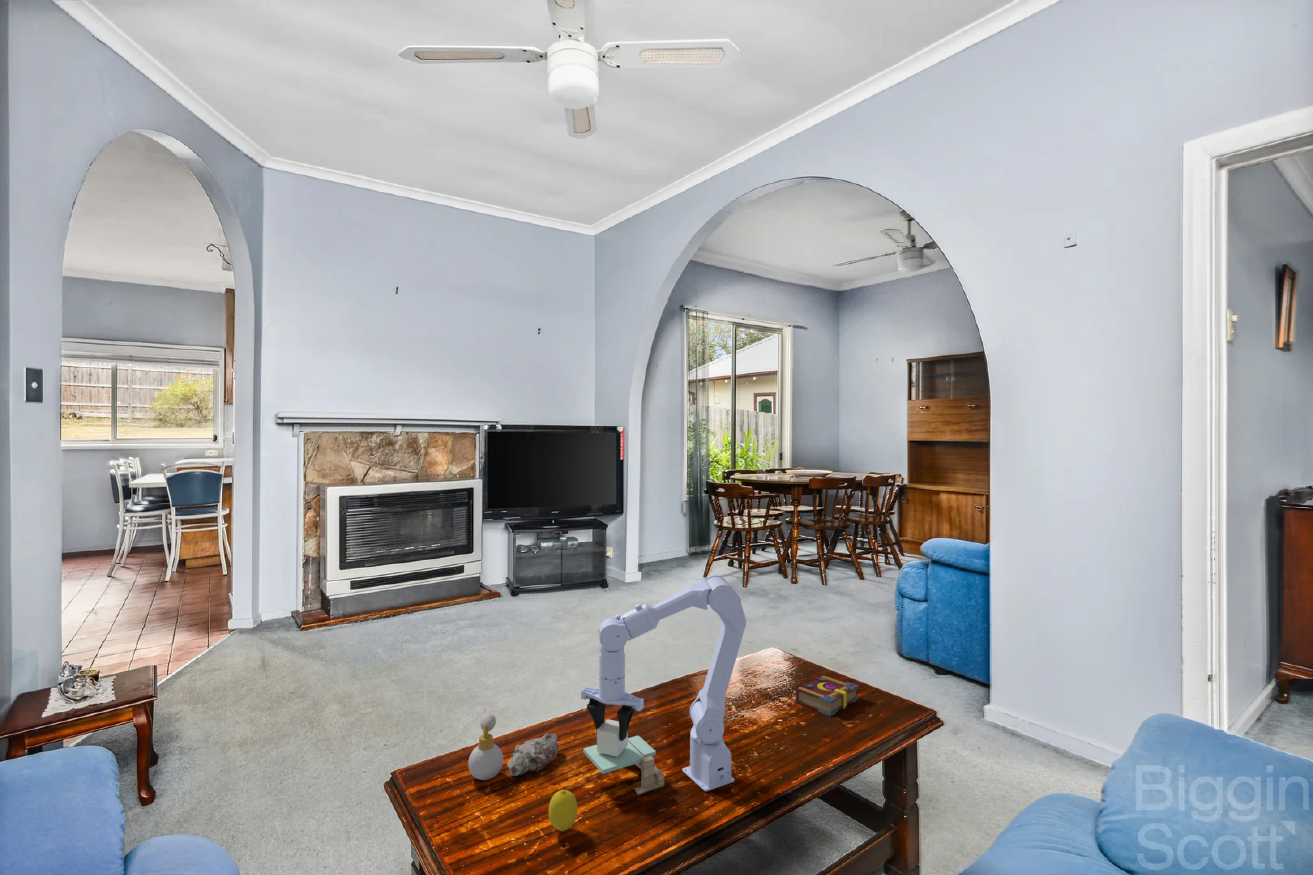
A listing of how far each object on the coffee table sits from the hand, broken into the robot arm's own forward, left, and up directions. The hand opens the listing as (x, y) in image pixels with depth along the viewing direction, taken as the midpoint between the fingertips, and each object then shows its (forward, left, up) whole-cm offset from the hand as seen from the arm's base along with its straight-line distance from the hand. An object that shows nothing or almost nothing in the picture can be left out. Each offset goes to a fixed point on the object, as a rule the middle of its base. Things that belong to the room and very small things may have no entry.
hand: (611, 735), depth 137 cm
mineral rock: (+15, +13, -10) cm, 22 cm away
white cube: (0, 0, -3) cm, 3 cm away
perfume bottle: (+16, +24, -10) cm, 31 cm away
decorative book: (+5, -71, -10) cm, 72 cm away
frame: (-1, -5, -10) cm, 11 cm away
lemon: (-11, +16, -10) cm, 21 cm away
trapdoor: (-1, -2, -6) cm, 6 cm away
